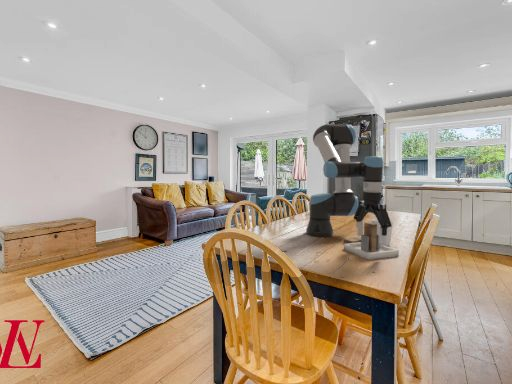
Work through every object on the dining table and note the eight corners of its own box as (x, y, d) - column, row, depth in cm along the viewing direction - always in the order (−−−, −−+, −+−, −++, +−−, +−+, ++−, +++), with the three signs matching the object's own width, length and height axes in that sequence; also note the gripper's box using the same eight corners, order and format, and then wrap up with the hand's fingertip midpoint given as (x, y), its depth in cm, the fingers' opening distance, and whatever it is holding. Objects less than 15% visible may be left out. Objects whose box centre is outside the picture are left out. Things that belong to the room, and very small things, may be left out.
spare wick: (351, 246, 128) (351, 241, 128) (343, 243, 133) (343, 239, 133) (368, 243, 134) (368, 238, 133) (361, 241, 138) (361, 236, 138)
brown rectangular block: (363, 248, 119) (364, 222, 118) (367, 247, 120) (368, 222, 119) (371, 251, 115) (372, 224, 114) (376, 251, 115) (377, 224, 114)
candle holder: (394, 246, 126) (395, 222, 125) (372, 245, 128) (373, 221, 127) (388, 241, 136) (389, 218, 135) (368, 240, 138) (369, 218, 137)
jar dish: (343, 249, 122) (344, 232, 122) (371, 246, 128) (371, 229, 127) (368, 260, 107) (369, 240, 107) (398, 256, 112) (399, 237, 112)
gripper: (346, 189, 126) (345, 233, 128) (388, 194, 102) (385, 247, 104) (359, 189, 128) (358, 232, 130) (402, 193, 105) (400, 245, 106)
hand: (370, 238), depth 117 cm, fingers open, 13 cm apart
